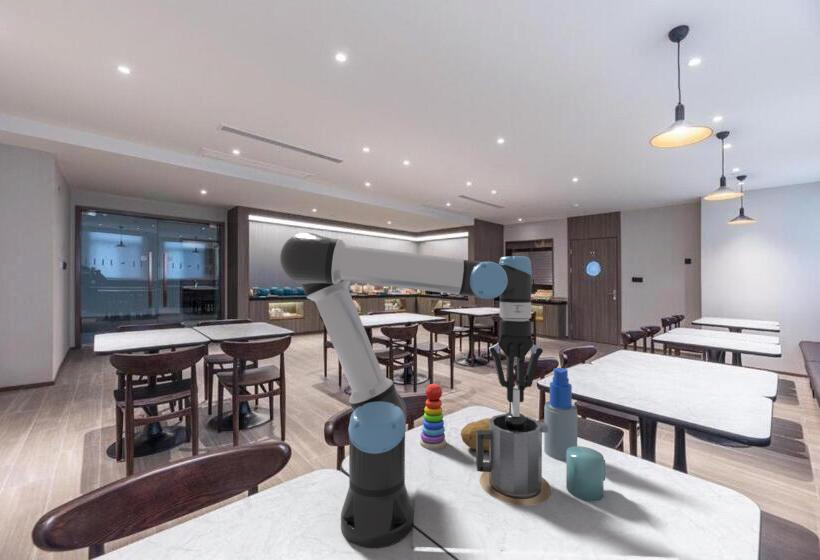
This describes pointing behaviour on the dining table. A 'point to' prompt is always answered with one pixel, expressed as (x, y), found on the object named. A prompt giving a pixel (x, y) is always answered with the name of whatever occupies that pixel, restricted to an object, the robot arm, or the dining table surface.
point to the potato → (470, 433)
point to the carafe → (512, 457)
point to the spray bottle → (560, 417)
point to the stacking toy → (433, 420)
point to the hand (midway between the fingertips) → (515, 414)
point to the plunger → (514, 422)
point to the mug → (585, 473)
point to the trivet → (536, 500)
